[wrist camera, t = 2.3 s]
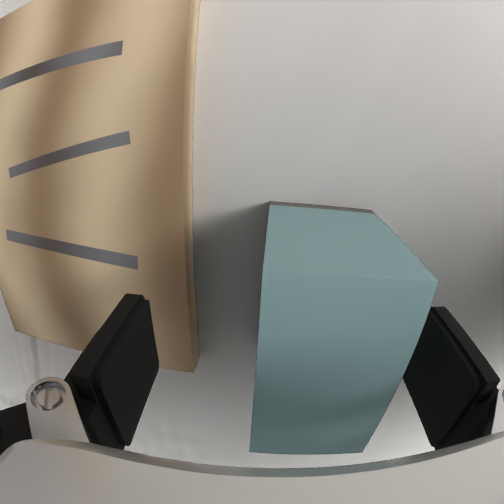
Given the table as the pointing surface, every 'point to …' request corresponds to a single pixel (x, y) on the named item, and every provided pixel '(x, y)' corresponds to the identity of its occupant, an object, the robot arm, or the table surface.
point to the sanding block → (332, 327)
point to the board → (98, 168)
